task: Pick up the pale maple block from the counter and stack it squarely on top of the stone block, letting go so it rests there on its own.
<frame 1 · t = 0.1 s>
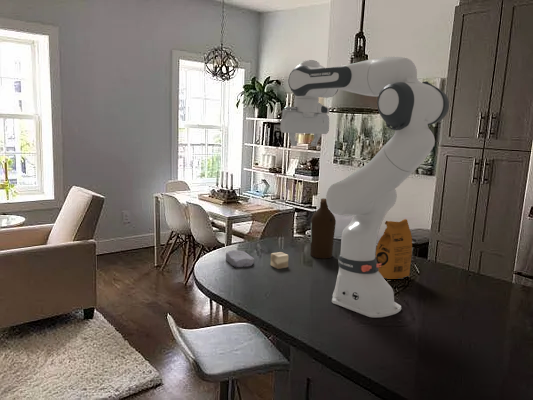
hand: (304, 146, 161), 48 cm above the kitchen island, tool pointing down, fingers open, 8 cm apart
olive oil: (321, 255, 191), on the kitchen island
stone block: (240, 263, 177), on the kitchen island
maple block: (279, 266, 174), on the kitchen island
coffee package: (391, 277, 166), on the kitchen island
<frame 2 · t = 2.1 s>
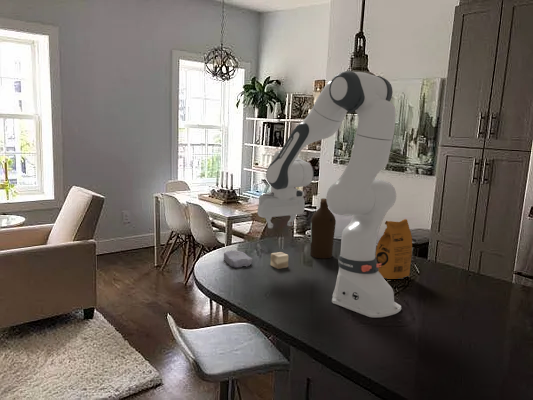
hand: (280, 226, 171), 16 cm above the kitchen island, tool pointing down, fingers open, 8 cm apart
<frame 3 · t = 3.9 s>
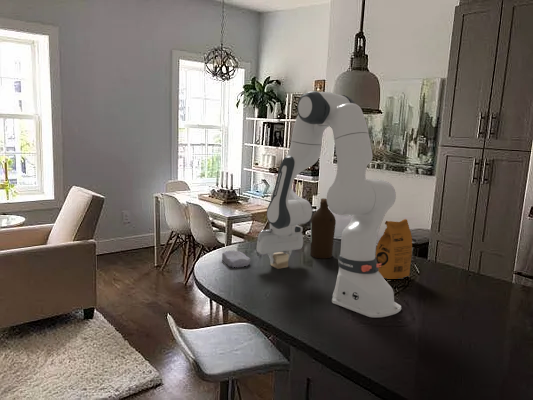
hand: (279, 262, 173), 2 cm above the kitchen island, tool pointing down, fingers closed on maple block, 5 cm apart
maple block: (279, 266, 174), on the kitchen island, touching gripper
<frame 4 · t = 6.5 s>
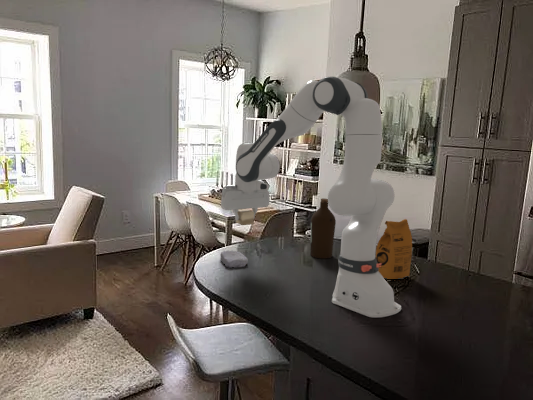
hand: (244, 219, 172), 18 cm above the kitchen island, tool pointing down, fingers closed on maple block, 5 cm apart
maple block: (244, 223, 172), point 17 cm above the kitchen island, touching gripper
when the fingers open (6 cm above the kitchen island, at t = 9.2 s): maple block stays where it is, point 4 cm above the kitchen island.
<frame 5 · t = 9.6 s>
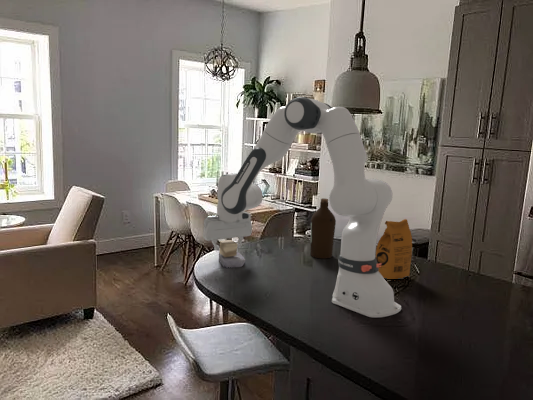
hand: (227, 248, 173), 6 cm above the kitchen island, tool pointing down, fingers open, 8 cm apart
maple block: (227, 254, 174), point 4 cm above the kitchen island
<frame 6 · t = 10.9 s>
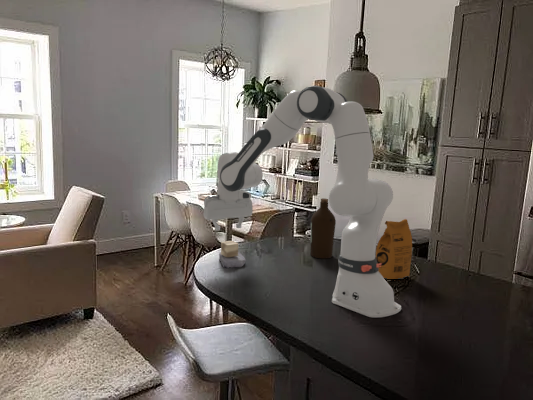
hand: (228, 229, 172), 14 cm above the kitchen island, tool pointing down, fingers open, 8 cm apart
stone block: (233, 264, 176), on the kitchen island, touching maple block
maple block: (229, 254, 174), point 3 cm above the kitchen island, touching stone block
everything else where it was.
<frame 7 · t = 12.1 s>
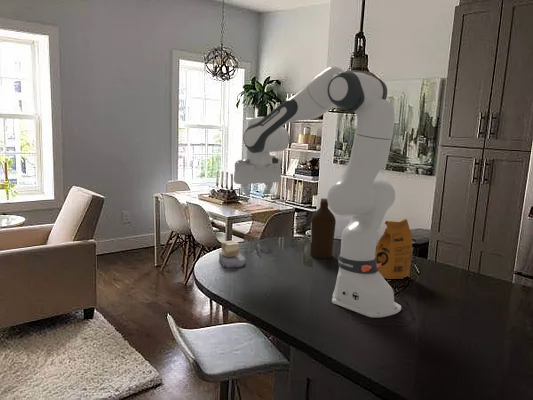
hand: (257, 194, 172), 28 cm above the kitchen island, tool pointing down, fingers open, 8 cm apart
nothing on the kitchen island moved.
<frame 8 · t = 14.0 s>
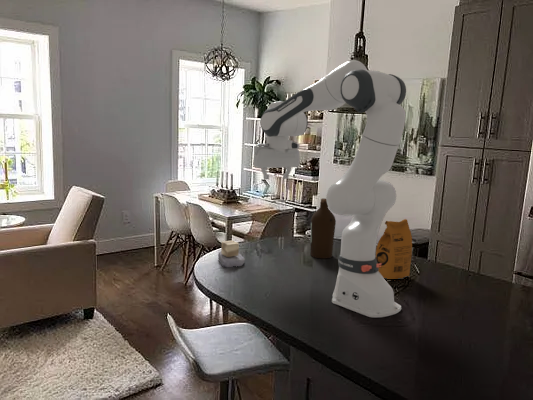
hand: (276, 178, 174), 34 cm above the kitchen island, tool pointing down, fingers open, 8 cm apart
at the end: maple block inside the target area on the stone block (1.3 cm from its centre), point 4.1 cm above the stone block's base; maple block tilted 0°; the gripper is holding nothing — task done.
